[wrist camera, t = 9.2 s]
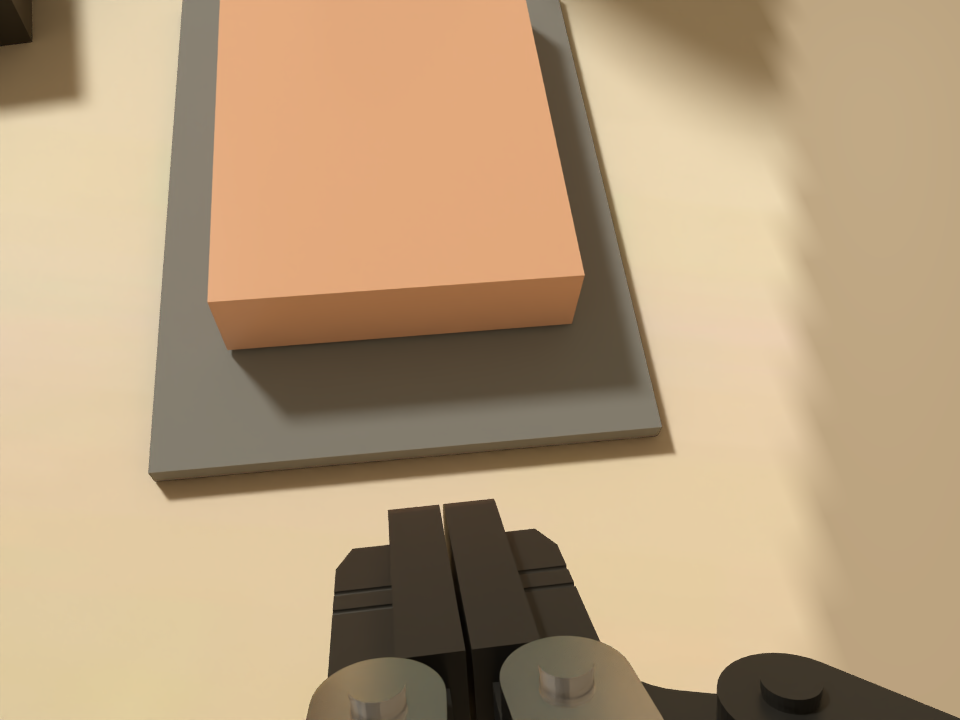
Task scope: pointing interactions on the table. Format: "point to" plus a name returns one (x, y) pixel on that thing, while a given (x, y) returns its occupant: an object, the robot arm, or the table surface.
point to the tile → (384, 174)
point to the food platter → (15, 22)
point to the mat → (387, 361)
